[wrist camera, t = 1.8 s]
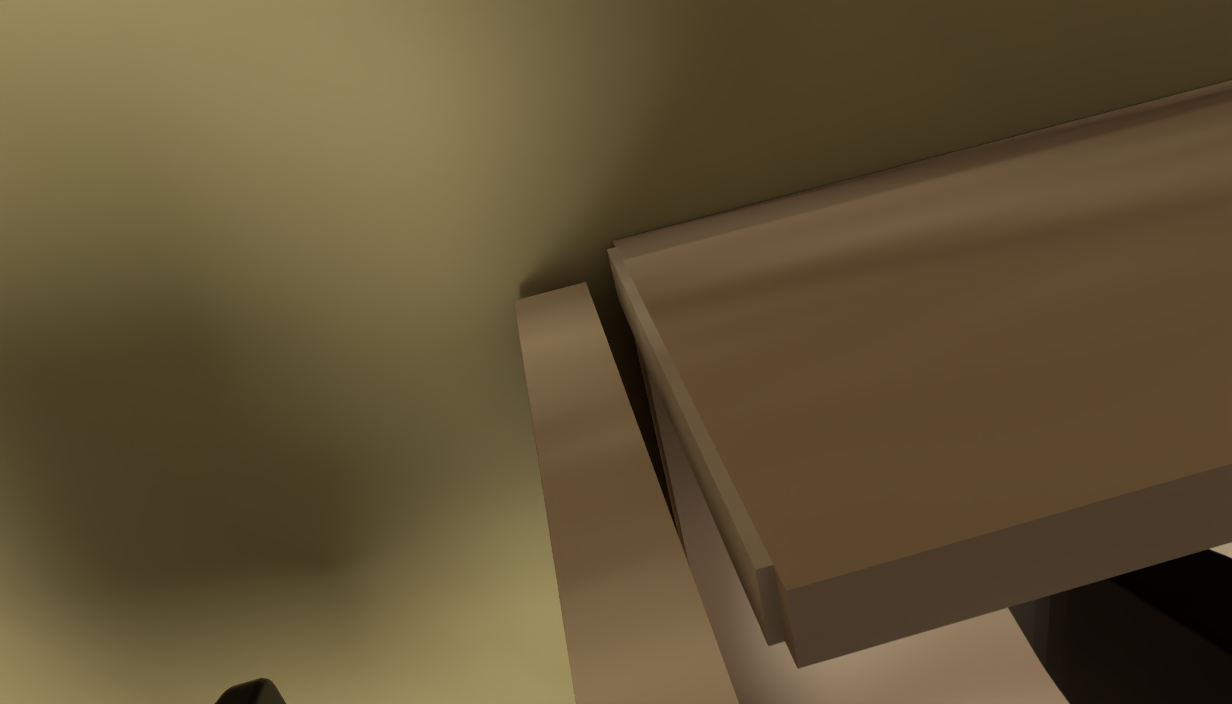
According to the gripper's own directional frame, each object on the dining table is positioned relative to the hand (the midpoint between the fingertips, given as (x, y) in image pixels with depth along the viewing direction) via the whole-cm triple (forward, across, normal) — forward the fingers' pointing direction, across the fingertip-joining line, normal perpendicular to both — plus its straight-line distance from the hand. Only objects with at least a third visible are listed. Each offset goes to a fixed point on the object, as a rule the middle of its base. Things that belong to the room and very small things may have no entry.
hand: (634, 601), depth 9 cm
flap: (+1, 0, +5) cm, 5 cm away
